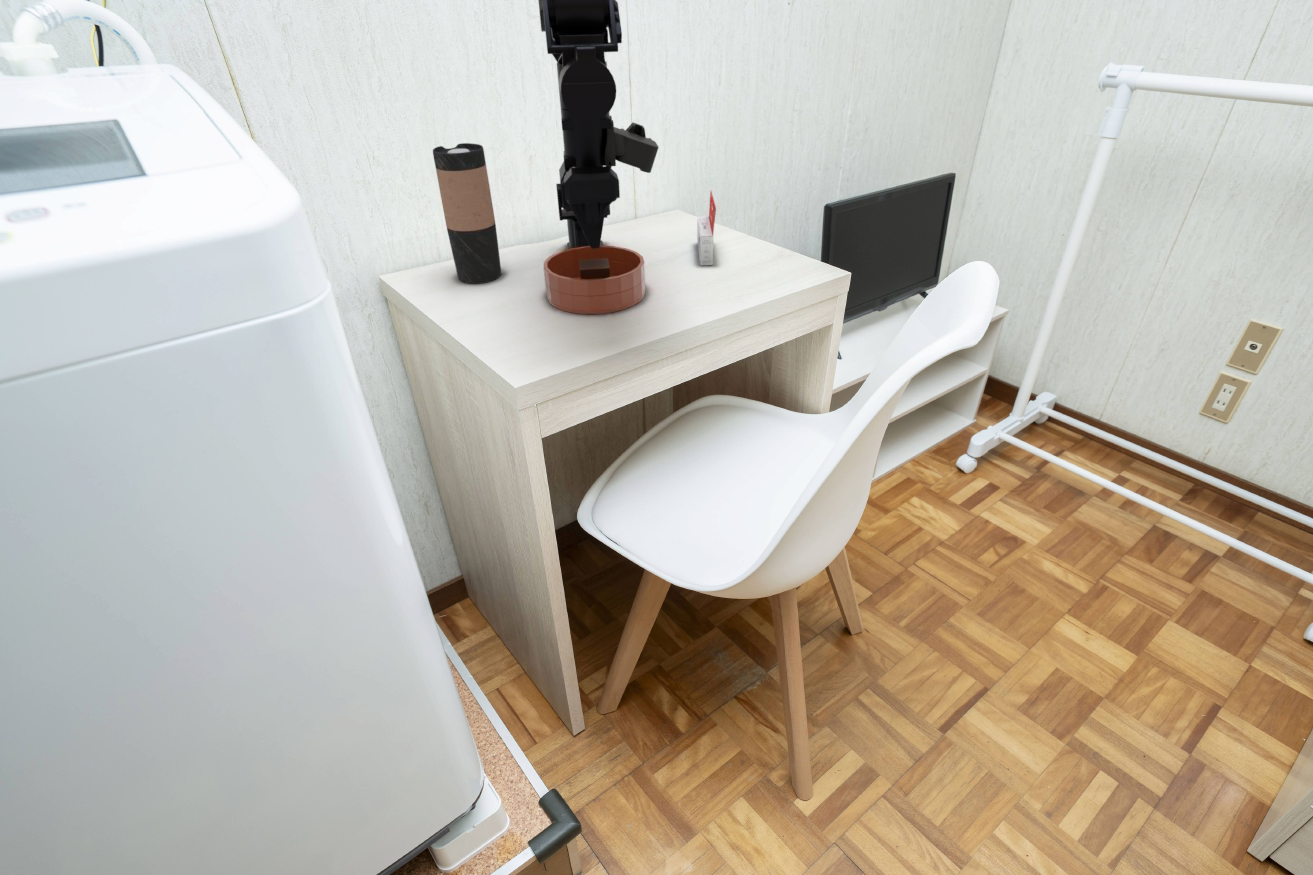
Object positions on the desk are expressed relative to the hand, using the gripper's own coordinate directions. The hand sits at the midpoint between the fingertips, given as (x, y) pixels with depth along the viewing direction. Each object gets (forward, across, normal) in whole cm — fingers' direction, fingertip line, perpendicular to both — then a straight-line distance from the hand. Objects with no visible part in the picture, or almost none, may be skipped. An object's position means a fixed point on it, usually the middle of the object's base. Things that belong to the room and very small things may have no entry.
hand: (594, 238), depth 87 cm
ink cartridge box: (+13, +27, -20) cm, 36 cm away
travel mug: (+13, +23, +19) cm, 32 cm away
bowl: (+12, +12, 0) cm, 17 cm away
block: (+12, +12, 0) cm, 17 cm away
